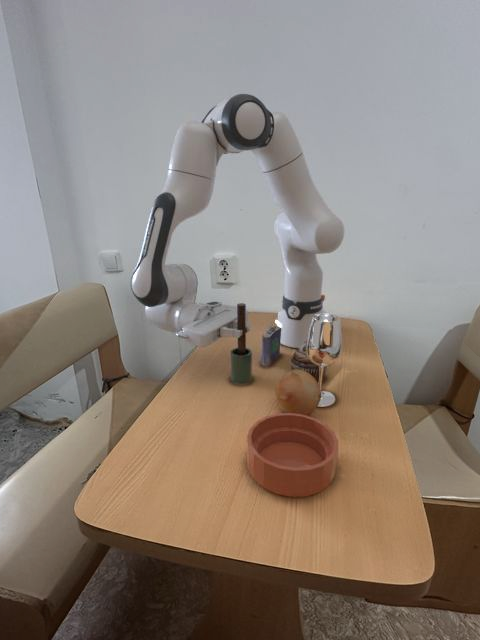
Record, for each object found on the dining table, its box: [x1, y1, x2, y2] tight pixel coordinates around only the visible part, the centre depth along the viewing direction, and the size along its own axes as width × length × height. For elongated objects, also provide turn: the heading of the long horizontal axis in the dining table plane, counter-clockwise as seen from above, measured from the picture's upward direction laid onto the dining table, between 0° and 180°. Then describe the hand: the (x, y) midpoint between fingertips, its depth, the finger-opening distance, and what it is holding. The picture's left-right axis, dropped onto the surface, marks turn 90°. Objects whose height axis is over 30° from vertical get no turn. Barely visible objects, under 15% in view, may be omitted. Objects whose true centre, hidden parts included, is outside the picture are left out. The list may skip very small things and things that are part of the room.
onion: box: [274, 369, 322, 416], centre depth 80 cm, size 10×10×10 cm
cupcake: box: [290, 342, 329, 383], centre depth 94 cm, size 10×10×10 cm
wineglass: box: [305, 312, 343, 408], centre depth 83 cm, size 8×8×20 cm
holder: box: [230, 347, 253, 384], centre depth 93 cm, size 5×5×8 cm
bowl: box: [246, 412, 339, 498], centre depth 65 cm, size 15×15×6 cm
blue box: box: [261, 323, 281, 367], centre depth 103 cm, size 9×3×11 cm, turn 151°
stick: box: [236, 302, 247, 355], centre depth 90 cm, size 2×2×18 cm
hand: (244, 331), depth 89 cm, fingers closed on stick, 2 cm apart
